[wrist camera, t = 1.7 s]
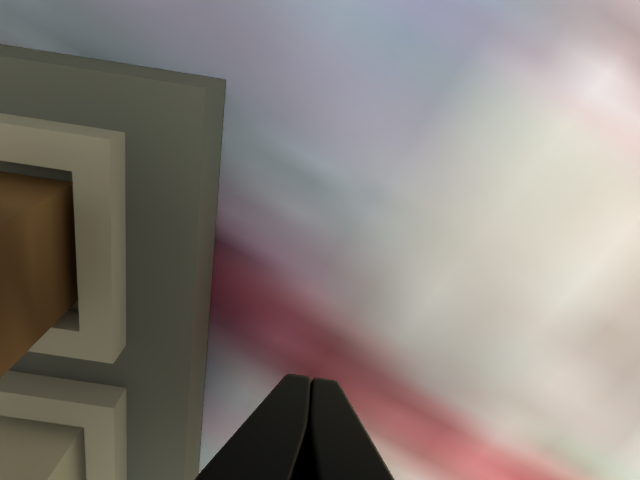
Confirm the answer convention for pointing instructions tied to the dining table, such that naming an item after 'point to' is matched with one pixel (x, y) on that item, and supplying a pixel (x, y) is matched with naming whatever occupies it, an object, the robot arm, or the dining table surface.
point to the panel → (121, 254)
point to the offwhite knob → (41, 450)
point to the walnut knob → (34, 260)
